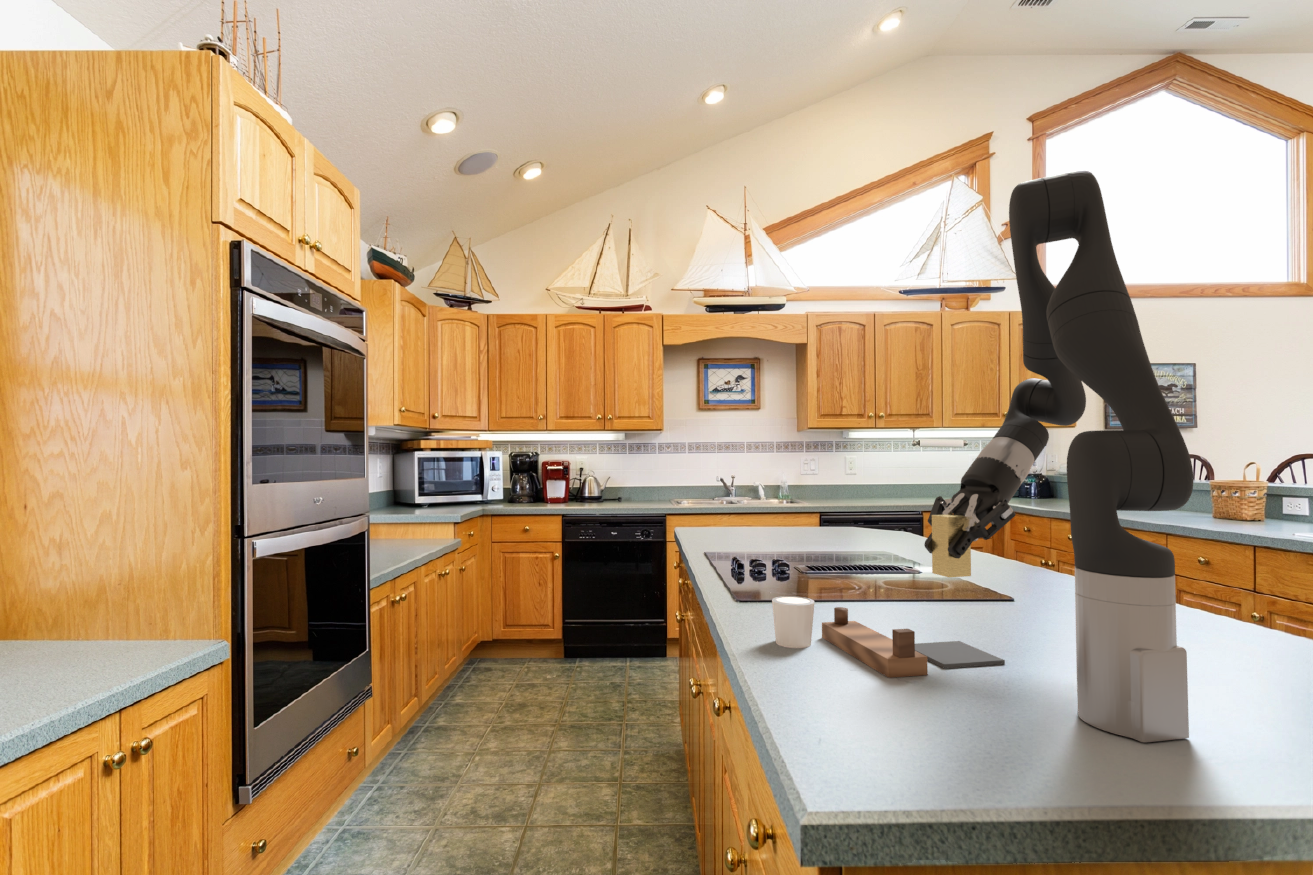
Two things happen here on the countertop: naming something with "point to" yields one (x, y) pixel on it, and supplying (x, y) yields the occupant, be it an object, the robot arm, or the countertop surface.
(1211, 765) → the countertop surface
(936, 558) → the pale wooden block
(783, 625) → the white cup
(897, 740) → the countertop surface
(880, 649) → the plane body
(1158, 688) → the robot arm
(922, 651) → the mat
